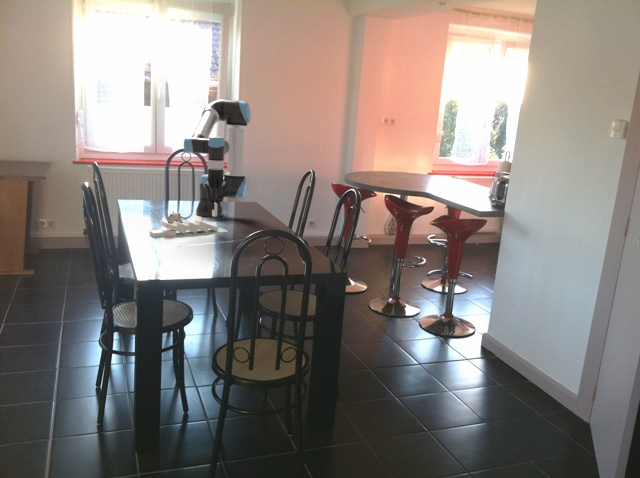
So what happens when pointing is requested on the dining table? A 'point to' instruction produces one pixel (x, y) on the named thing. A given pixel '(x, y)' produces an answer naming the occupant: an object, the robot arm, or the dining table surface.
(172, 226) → the domino
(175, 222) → the domino
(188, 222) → the domino
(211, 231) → the board
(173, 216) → the game die
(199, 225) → the domino
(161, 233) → the domino
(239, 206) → the dining table surface
